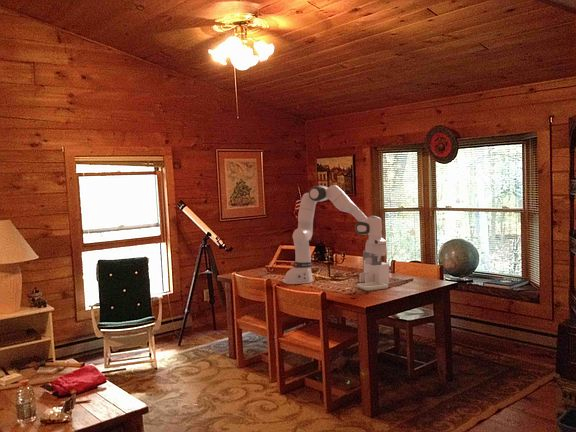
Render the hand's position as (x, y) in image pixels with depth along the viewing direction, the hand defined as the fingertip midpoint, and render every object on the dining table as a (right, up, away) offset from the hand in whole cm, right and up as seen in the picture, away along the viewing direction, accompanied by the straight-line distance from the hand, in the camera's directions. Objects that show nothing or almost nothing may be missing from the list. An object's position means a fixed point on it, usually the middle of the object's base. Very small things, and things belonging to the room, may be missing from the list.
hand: (375, 260), depth 365 cm
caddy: (-2, -3, -1) cm, 3 cm away
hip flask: (+5, -15, +48) cm, 50 cm away
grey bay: (+1, -17, +19) cm, 25 cm away
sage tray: (-2, -18, 0) cm, 18 cm away
